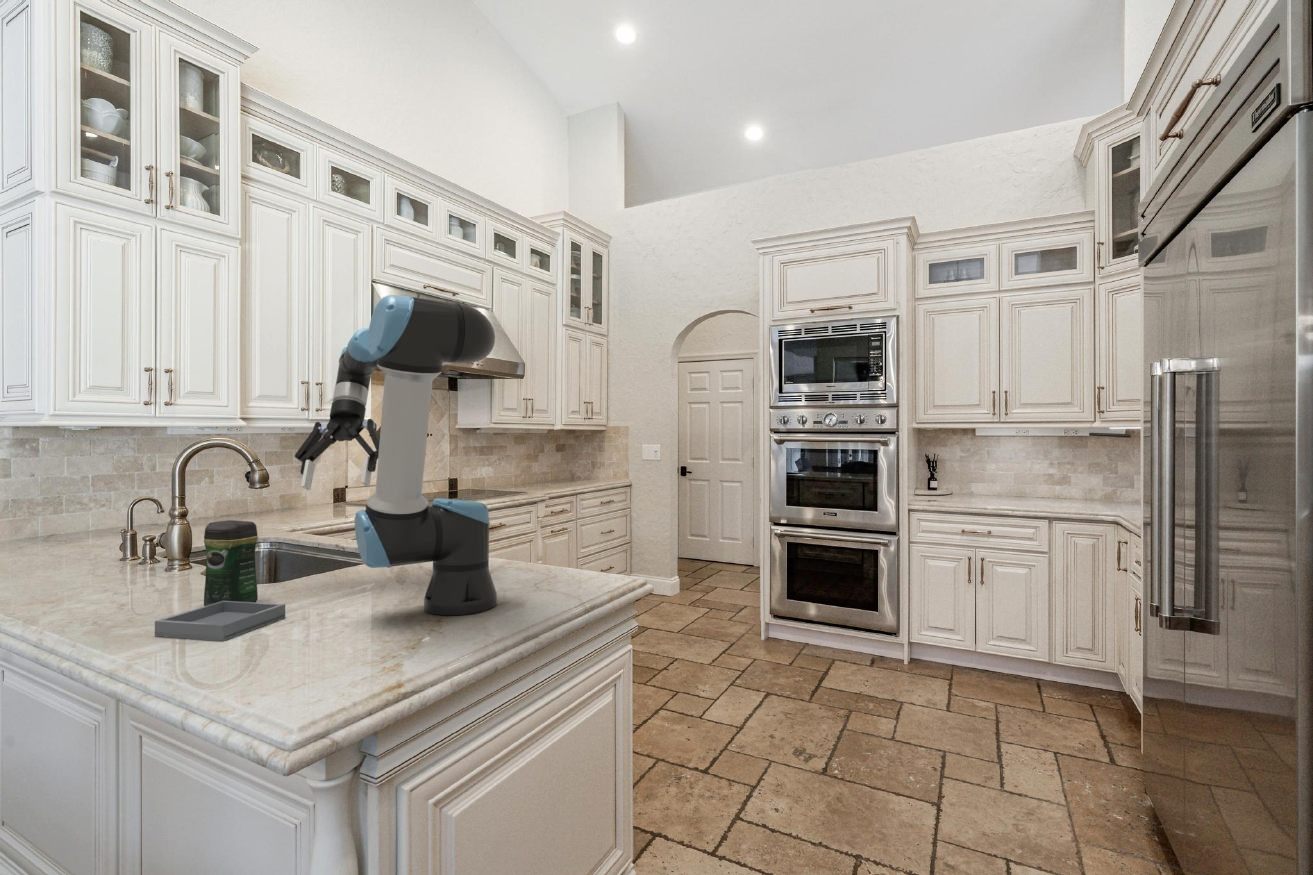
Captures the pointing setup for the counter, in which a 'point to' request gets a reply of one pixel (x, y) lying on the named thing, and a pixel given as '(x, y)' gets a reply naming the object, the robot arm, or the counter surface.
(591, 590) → the counter surface
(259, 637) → the counter surface
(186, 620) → the holder
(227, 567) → the coffee jar
